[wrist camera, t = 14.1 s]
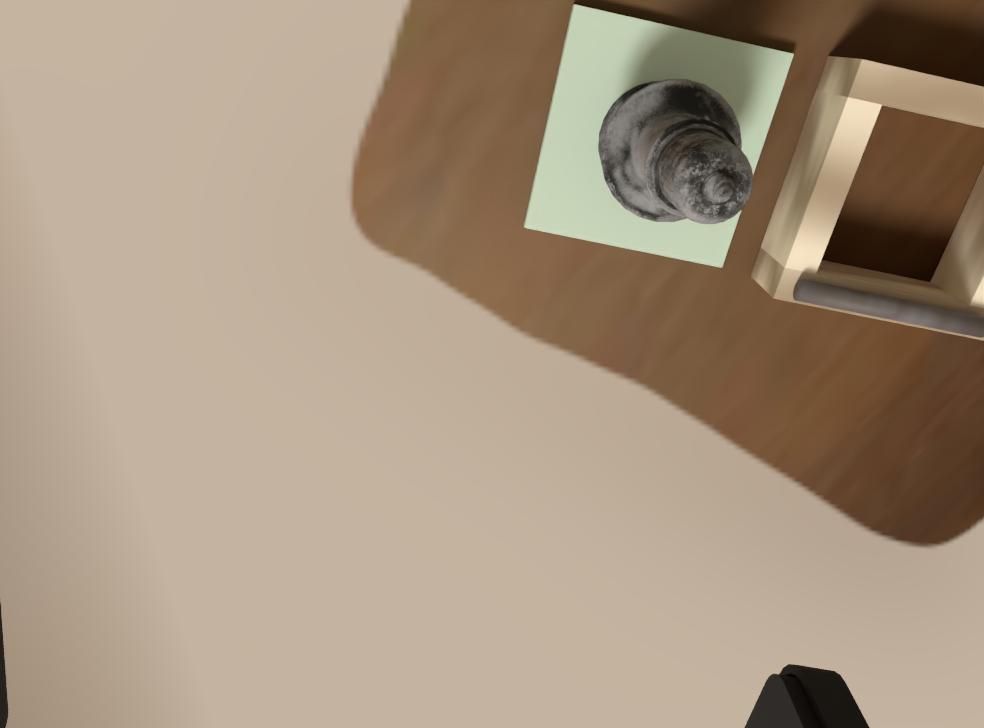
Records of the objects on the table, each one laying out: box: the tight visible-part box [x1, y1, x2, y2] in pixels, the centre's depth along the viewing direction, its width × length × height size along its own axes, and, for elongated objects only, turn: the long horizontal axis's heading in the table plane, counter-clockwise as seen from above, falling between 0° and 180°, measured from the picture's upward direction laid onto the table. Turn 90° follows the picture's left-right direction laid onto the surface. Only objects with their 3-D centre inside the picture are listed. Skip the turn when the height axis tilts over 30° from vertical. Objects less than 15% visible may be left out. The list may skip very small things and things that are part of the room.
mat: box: [524, 4, 794, 268], centre depth 36 cm, size 10×10×1 cm
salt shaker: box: [598, 79, 753, 224], centre depth 30 cm, size 6×6×12 cm
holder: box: [751, 56, 984, 340], centre depth 35 cm, size 10×10×4 cm
